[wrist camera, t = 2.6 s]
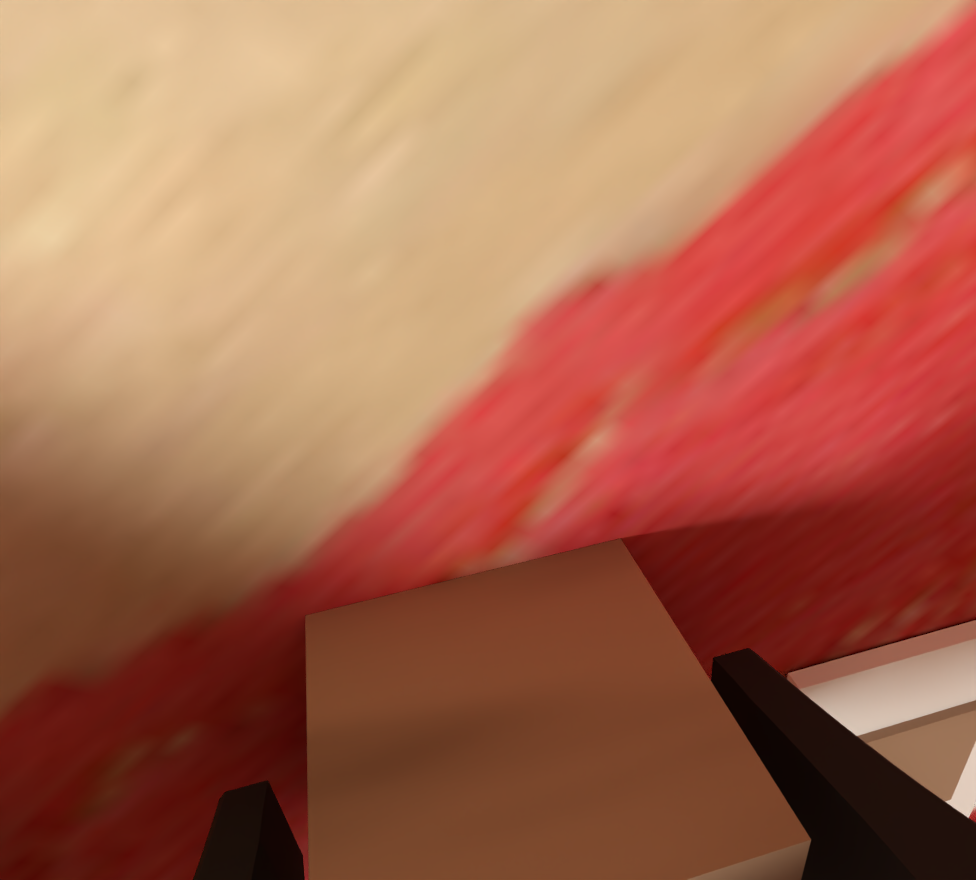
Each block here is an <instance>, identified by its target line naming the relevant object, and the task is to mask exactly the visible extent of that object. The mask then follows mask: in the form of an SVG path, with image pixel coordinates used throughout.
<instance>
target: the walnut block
mask: <svg viewBox="0 0 976 880" xmlns="http://www.w3.org/2000/svg"><path fill="white" fill-rule="evenodd" d="M305 630H306V707H307V784H308V861H309V880H801V878H802V874H803V870H804V866H805V862H806V858H807V854H808V850H809V846H810V842H811V839H810V837H809V835H808V834H807V832H806V831H805V829H804V828H803V826H802V824H801V823H800V821H799V820H798V818H797V816H796V815H795V813H794V812H793V810H792V809H791V807H790V805H789V804H788V802H787V801H786V799H785V798H784V796H783V794H782V793H781V791H780V790H779V788H778V786H777V785H776V783H775V782H774V780H773V779H772V777H771V775H770V774H769V772H768V771H767V769H766V767H765V766H764V764H763V763H762V761H761V760H760V758H759V756H758V755H757V753H756V752H755V750H754V748H753V747H752V745H751V744H750V742H749V741H748V739H747V737H746V736H745V734H744V733H743V731H742V730H741V728H740V726H739V725H738V723H737V722H736V720H735V718H734V717H733V715H732V714H731V712H730V711H729V709H728V707H727V706H726V704H725V703H724V701H723V699H722V698H721V696H720V695H719V693H718V692H717V690H716V688H715V687H714V685H713V684H712V682H711V681H710V679H709V677H708V676H707V674H706V673H705V671H704V669H703V668H702V666H701V665H700V663H699V662H698V660H697V658H696V657H695V655H694V654H693V652H692V650H691V649H690V647H689V646H688V644H687V643H686V641H685V639H684V638H683V636H682V635H681V633H680V631H679V630H678V628H677V627H676V625H675V624H674V622H673V620H672V619H671V617H670V616H669V614H668V613H667V611H666V609H665V608H664V606H663V605H662V603H661V601H660V600H659V598H658V597H657V595H656V594H655V592H654V590H653V589H652V587H651V586H650V584H649V582H648V581H647V579H646V578H645V576H644V575H643V573H642V571H641V570H640V568H639V567H638V565H637V563H636V562H635V560H634V559H633V557H632V556H631V554H630V552H629V551H628V549H627V548H626V546H625V545H624V543H623V541H622V540H621V538H620V539H616V540H612V541H608V542H603V543H599V544H595V545H591V546H587V547H583V548H579V549H575V550H571V551H567V552H563V553H558V554H554V555H550V556H546V557H542V558H538V559H534V560H530V561H526V562H522V563H518V564H514V565H509V566H505V567H501V568H497V569H493V570H489V571H485V572H481V573H477V574H473V575H469V576H464V577H460V578H456V579H452V580H448V581H444V582H440V583H436V584H432V585H428V586H424V587H419V588H415V589H411V590H407V591H403V592H399V593H395V594H391V595H387V596H383V597H379V598H374V599H370V600H366V601H362V602H358V603H354V604H350V605H346V606H342V607H338V608H334V609H330V610H325V611H321V612H317V613H313V614H309V615H305Z"/></svg>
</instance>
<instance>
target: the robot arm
mask: <svg viewBox="0 0 976 880" xmlns="http://www.w3.org/2000/svg"><path fill="white" fill-rule="evenodd" d="M711 682H712V684H713V685H714V687H715V688H716V690H717V692H718V693H719V695H720V696H721V698H722V699H723V701H724V703H725V704H726V706H727V707H728V709H729V711H730V712H731V714H732V715H733V717H734V718H735V720H736V722H737V723H738V725H739V726H740V728H741V730H742V731H743V733H744V734H745V736H746V737H747V739H748V741H749V742H750V744H751V745H752V747H753V748H754V750H755V752H756V753H757V755H758V756H759V758H760V760H761V761H762V763H763V764H764V766H765V767H766V769H767V771H768V772H769V774H770V775H771V777H772V779H773V780H774V782H775V783H776V785H777V786H778V788H779V790H780V791H781V793H782V794H783V796H784V798H785V799H786V801H787V802H788V804H789V805H790V807H791V809H792V810H793V812H794V813H795V815H796V816H797V818H798V820H799V821H800V823H801V824H802V826H803V828H804V829H805V831H806V832H807V834H808V835H809V837H810V839H811V842H810V846H809V850H808V854H807V858H806V862H805V866H804V870H803V874H802V878H801V880H976V823H975V822H974V821H972V820H971V819H970V818H968V817H967V816H965V815H964V814H962V813H961V812H959V811H958V810H956V809H955V808H954V807H952V806H951V805H949V804H948V803H946V802H945V801H944V800H942V799H941V798H939V797H938V796H937V795H935V794H934V793H932V792H931V791H930V790H928V789H927V788H925V787H924V786H922V785H921V784H920V783H918V782H917V781H916V780H914V779H913V778H912V777H910V776H909V775H907V774H906V773H905V772H903V771H902V770H901V769H899V768H898V767H897V766H895V765H894V764H893V763H891V762H890V761H889V760H887V759H886V758H885V757H884V756H882V755H881V754H880V753H878V752H877V751H876V750H874V749H873V748H872V747H870V746H869V745H868V744H867V743H865V742H864V741H863V740H861V739H860V738H859V737H857V736H856V735H855V734H854V733H852V732H851V731H850V730H848V729H847V728H846V727H845V726H843V725H842V724H841V723H840V722H838V721H837V720H836V719H835V718H833V717H832V716H831V715H830V714H828V713H827V712H826V711H825V710H824V709H822V708H821V707H820V706H819V705H817V704H816V703H815V702H814V701H812V700H811V699H810V698H809V697H808V696H806V695H805V694H804V693H803V692H802V691H800V690H799V689H798V688H797V687H795V686H794V685H793V684H792V683H791V682H790V681H788V680H787V679H786V678H785V677H784V676H782V675H781V674H780V673H779V672H778V671H776V670H775V669H774V668H773V667H772V666H770V665H769V664H768V663H767V662H766V661H765V660H763V659H762V658H761V657H760V656H759V655H757V654H756V653H755V652H754V651H752V650H751V649H749V648H747V649H743V650H740V651H736V652H732V653H729V654H725V655H721V656H718V657H714V658H713V666H712V677H711ZM193 880H304V866H303V855H302V853H301V851H300V849H299V846H298V844H297V842H296V840H295V838H294V836H293V833H292V831H291V829H290V827H289V825H288V823H287V820H286V818H285V816H284V814H283V812H282V810H281V807H280V805H279V803H278V801H277V799H276V797H275V794H274V792H273V790H272V788H271V786H270V784H269V782H268V780H267V781H263V782H260V783H256V784H252V785H249V786H245V787H242V788H238V789H234V790H231V791H227V792H225V793H224V794H223V795H222V797H221V798H220V799H219V803H218V806H217V809H216V812H215V816H214V819H213V822H212V825H211V828H210V831H209V834H208V837H207V841H206V844H205V847H204V850H203V852H202V855H201V858H200V861H199V864H198V867H197V870H196V873H195V876H194V878H193Z"/></svg>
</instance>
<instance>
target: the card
mask: <svg viewBox="0 0 976 880" xmlns="http://www.w3.org/2000/svg"><path fill="white" fill-rule="evenodd" d="M787 680H788V681H790V682H791V683H792V684H793V685H794V686H795V687H797V688H798V689H799V690H800V691H802V692H803V693H804V694H805V695H806V696H808V697H809V698H810V699H811V700H812V701H814V702H815V703H816V704H817V705H819V706H820V707H821V708H822V709H824V710H825V711H826V712H827V713H828V714H830V715H831V716H832V717H833V718H835V719H836V720H837V721H838V722H840V723H841V724H842V725H843V726H845V727H846V728H847V729H848V730H850V731H851V732H852V733H854V734H855V735H856V736H857V737H859V738H860V739H861V740H863V741H864V742H865V743H867V744H868V745H869V746H870V747H872V748H873V749H874V750H876V751H877V752H878V753H880V754H881V755H882V756H884V757H885V758H886V759H887V760H889V761H890V762H891V763H893V764H894V765H895V766H897V767H898V768H899V769H901V770H902V771H903V772H905V773H906V774H907V775H909V776H910V777H912V778H913V779H914V780H916V781H917V782H918V783H920V784H921V785H922V786H924V787H925V788H927V789H928V790H930V791H931V792H932V793H934V794H935V795H937V796H938V797H939V798H941V799H942V800H944V801H945V802H946V803H948V804H949V805H951V806H952V807H954V808H955V809H956V810H958V811H959V812H961V813H962V814H964V815H965V816H967V817H968V818H969V816H970V814H971V812H972V809H973V807H974V805H975V803H976V620H974V621H970V622H967V623H963V624H960V625H956V626H953V627H949V628H946V629H942V630H939V631H935V632H932V633H928V634H925V635H921V636H917V637H914V638H910V639H907V640H903V641H900V642H896V643H893V644H889V645H886V646H882V647H879V648H875V649H872V650H868V651H864V652H861V653H857V654H854V655H850V656H847V657H843V658H840V659H836V660H833V661H829V662H826V663H822V664H819V665H815V666H811V667H808V668H804V669H801V670H797V671H794V672H790V673H788V675H787Z"/></svg>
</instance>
